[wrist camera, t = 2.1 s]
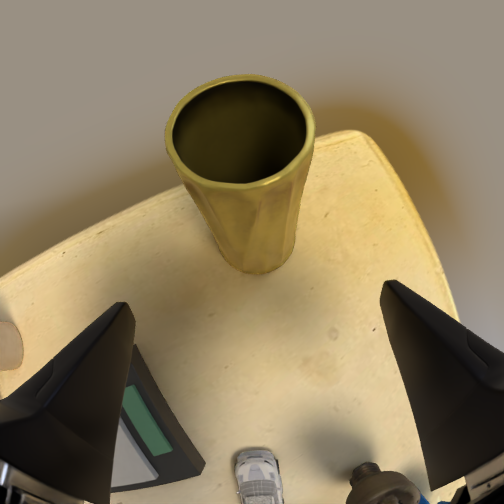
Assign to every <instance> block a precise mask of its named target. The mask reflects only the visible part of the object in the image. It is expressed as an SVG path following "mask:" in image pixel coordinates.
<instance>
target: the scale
mask: <svg viewBox="0 0 504 504" xmlns="http://www.w3.org/2000/svg"><path fill="white" fill-rule="evenodd" d="M113 460H114V463H113V472H112V482H111V493H115V492H123V491H130V490H136V489H142V488H148V487H153V486H158V485H163V484H167V483H172V482H176V481H180V480H184V479H188V478H191V477H195V476H198V475H201V473H202V471H203V469H204V466H205V464H206V463H205V461H204V460H203V458H202V457H201V456H200V454H199V453H198V451H197V450H196V448H195V447H194V446H193V444H192V443H191V441H190V440H189V438H188V437H187V435H186V434H185V432H184V430H183V429H182V427H181V426H180V424H179V423H178V421H177V419H176V418H175V416H174V414H173V413H172V411H171V410H170V408H169V406H168V404H167V403H166V401H165V399H164V398H163V396H162V394H161V392H160V391H159V389H158V387H157V385H156V383H155V381H154V380H153V378H152V376H151V374H150V372H149V370H148V368H147V366H146V364H145V362H144V360H143V358H142V356H141V354H140V352H139V350H138V348H137V346H136V344H133V349H132V357H131V363H130V368H129V372H128V377H127V382H126V387H125V392H124V397H123V402H122V408H121V413H120V419H119V426H118V432H117V439H116V446H115V453H114V459H113Z"/></svg>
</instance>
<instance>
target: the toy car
mask: <svg viewBox="0 0 504 504" xmlns="http://www.w3.org/2000/svg"><path fill="white" fill-rule="evenodd" d="M235 475H236V478H237V480H238V486H239V491H238V492H236V494H239V493H240V496H241V500H242V504H284V500H283V499H282V493H283V489H282V480H281V476H280V475H279V464H278V460H274V456H273V454H272V453H271V452H269V451H265V450H255V451H247V452H243V453H241V454H240V455H239V456H238V462H237V463H235Z"/></svg>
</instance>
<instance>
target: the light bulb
mask: <svg viewBox="0 0 504 504" xmlns="http://www.w3.org/2000/svg"><path fill="white" fill-rule="evenodd" d="M349 481H350V485H351V486H352V490H351V492H350V493H349V495H348V498H347V500H346V504H418V503H419V501H420V491H419V490H418V488H417V487H416V486H415V485H414V484H413V483H412V482H411V481H409V480H408V479H407V478H406V477H405V476H404V475H402V474H401V473H398V472H394V471H383V472H381V470H380V469H379V467H378V465H377V464H376V463H370V462H366V463H363V464H361V465H360V466H358V467H357V468H356V469H355V470H354V471H353V474H352V477H351V479H350V480H349Z"/></svg>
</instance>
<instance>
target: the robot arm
mask: <svg viewBox="0 0 504 504" xmlns="http://www.w3.org/2000/svg"><path fill="white" fill-rule="evenodd" d="M380 307H381V310H382V314H383V318H384V322H385V326H386V330H387V334H388V337H389V341H390V344H391V347H392V350H393V353H394V355H395V358H396V361H397V364H398V367H399V370H400V373H401V376H402V379H403V382H404V385H405V389H406V392H407V395H408V398H409V402H410V405H411V409H412V412H413V416H414V419H415V423H416V427H417V431H418V434H419V438H420V441H421V442H420V443H421V447H422V451H423V456H424V460H425V465H426V470H427V475H428V480H429V485H430V490H431V491H433V490H436V489H438V488H440V487H443V486H445V485H447V484H449V483H451V482H453V481H455V480H457V479H459V478H461V477H463V476H464V477H465V480H466V485H464V486H462V487H460V488H458V489H457V491H456V493H455V495H454V497H453V498H452V500H451V502H450V504H504V353H503V352H501V351H500V350H498V349H497V348H495V347H493V346H492V345H490V344H489V343H487V342H486V341H484V340H483V339H481V338H480V337H479V336H477V335H476V334H474V333H473V332H471V331H470V330H469V329H466V327H465V326H463V325H462V324H460V323H459V322H458V321H456V320H455V319H453V318H452V317H450V316H449V315H448V314H446V313H445V312H443V311H442V310H440V309H439V308H437V307H436V306H435V305H433V304H432V303H430V302H429V301H427V300H426V299H424V298H423V297H421V296H420V295H418V294H417V293H415V292H414V291H412V290H411V289H409V288H408V287H406V286H405V285H403V284H402V283H400V282H399V281H397V280H387V281H385V282H384V284H383V287H382V291H381V296H380ZM135 326H136V320H135V317H134V315H133V313H132V311H131V309H130V306H129V304H128V303H127V302H116V303H115V304H114V305H112V306H111V307H110V308H109V309H108V310H106V311H105V312H104V313H103V314H102V315H101V316H99V317H98V318H97V319H96V320H95V321H94V322H93V323H91V324H90V325H89V326H88V327H87V328H86V329H85V330H83V331H82V332H81V333H80V334H79V335H78V336H77V337H76V338H74V339H73V340H72V341H71V342H70V343H69V344H68V345H67V346H66V347H64V348H63V349H62V350H61V351H60V352H59V353H58V354H57V355H56V356H55V357H54V358H53V359H51V360H50V361H49V362H48V363H47V364H46V365H45V366H44V367H43V368H42V369H40V370H39V371H38V372H37V373H36V374H35V375H33V376H32V377H31V378H30V379H29V380H27V381H26V382H25V383H24V384H23V385H21V386H20V387H19V388H18V389H16V390H15V391H14V392H13V393H12V394H10V395H9V396H8V397H6V398H4V399H2V400H0V504H84V500H85V501H87V502H90V503H93V504H110V494H111V482H112V472H113V463H114V460H113V459H114V453H115V446H116V439H117V432H118V426H119V419H120V413H121V408H122V402H123V397H124V392H125V387H126V382H127V377H128V372H129V368H130V363H131V357H132V349H133V341H134V333H135Z"/></svg>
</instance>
